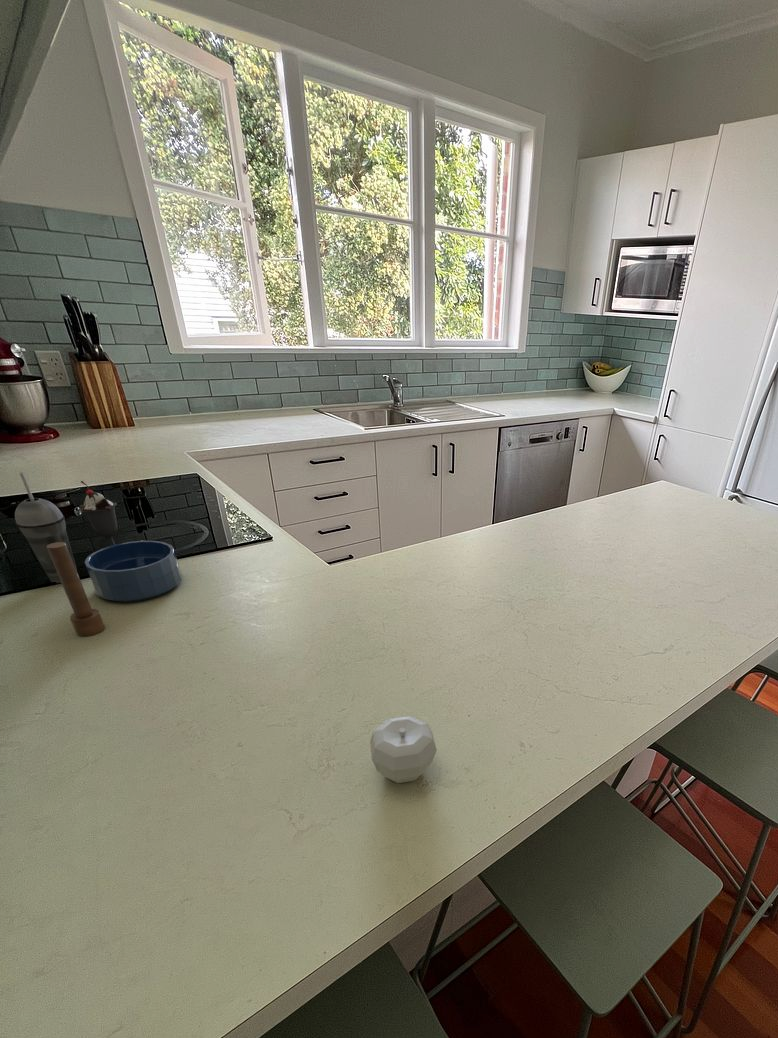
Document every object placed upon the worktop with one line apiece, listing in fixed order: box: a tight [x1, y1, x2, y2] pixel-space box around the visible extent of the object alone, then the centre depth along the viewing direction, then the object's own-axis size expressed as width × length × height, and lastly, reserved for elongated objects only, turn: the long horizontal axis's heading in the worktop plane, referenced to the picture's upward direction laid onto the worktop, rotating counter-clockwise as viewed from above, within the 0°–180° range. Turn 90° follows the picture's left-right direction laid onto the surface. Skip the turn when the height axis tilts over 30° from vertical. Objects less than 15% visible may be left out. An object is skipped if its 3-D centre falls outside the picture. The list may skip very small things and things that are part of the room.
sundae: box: [78, 480, 118, 547], centre depth 112 cm, size 7×7×15 cm
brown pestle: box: [47, 542, 106, 637], centre depth 85 cm, size 4×4×15 cm
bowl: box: [84, 540, 183, 603], centre depth 101 cm, size 14×14×6 cm
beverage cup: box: [14, 471, 78, 584], centre depth 100 cm, size 7×7×20 cm
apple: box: [369, 715, 438, 784], centre depth 63 cm, size 8×8×7 cm
